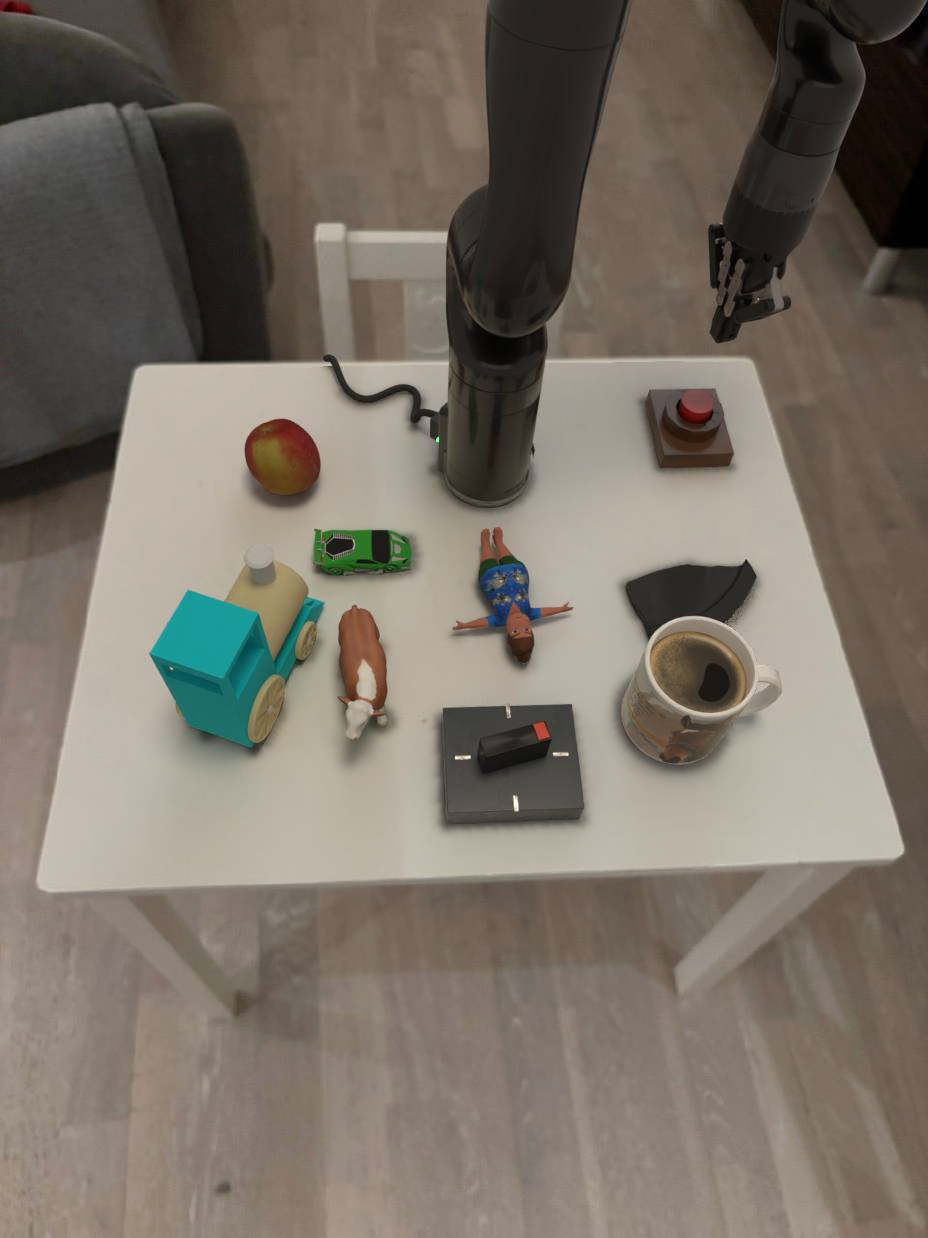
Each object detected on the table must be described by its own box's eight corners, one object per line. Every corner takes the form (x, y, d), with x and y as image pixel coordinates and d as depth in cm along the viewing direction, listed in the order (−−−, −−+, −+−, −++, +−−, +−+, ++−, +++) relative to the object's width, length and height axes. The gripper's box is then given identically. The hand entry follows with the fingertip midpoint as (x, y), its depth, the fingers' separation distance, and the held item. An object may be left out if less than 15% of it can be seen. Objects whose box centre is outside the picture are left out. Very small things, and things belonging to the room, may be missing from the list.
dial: (483, 774, 80) (486, 756, 76) (476, 756, 81) (479, 737, 77) (546, 756, 81) (552, 737, 77) (539, 738, 82) (545, 719, 78)
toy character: (551, 509, 93) (592, 633, 86) (546, 536, 97) (585, 657, 90) (432, 527, 91) (464, 655, 84) (431, 554, 95) (462, 678, 88)
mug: (655, 649, 90) (682, 590, 81) (763, 714, 87) (805, 661, 78) (601, 727, 86) (624, 675, 76) (713, 799, 83) (752, 753, 73)
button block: (728, 466, 103) (739, 442, 99) (659, 468, 102) (668, 444, 99) (710, 401, 108) (720, 376, 104) (644, 402, 107) (652, 377, 104)
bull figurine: (343, 764, 83) (336, 729, 76) (341, 637, 90) (334, 593, 83) (391, 761, 83) (388, 726, 76) (386, 634, 90) (382, 591, 83)
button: (712, 423, 101) (717, 412, 100) (681, 424, 101) (685, 413, 100) (706, 399, 103) (710, 388, 102) (675, 400, 103) (679, 389, 101)
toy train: (332, 609, 91) (318, 520, 78) (261, 754, 83) (231, 682, 70) (261, 586, 92) (235, 494, 79) (183, 727, 84) (140, 650, 71)
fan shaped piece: (774, 618, 93) (779, 610, 91) (654, 652, 90) (658, 644, 89) (737, 553, 97) (741, 545, 95) (621, 584, 94) (624, 576, 93)
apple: (311, 446, 102) (303, 395, 95) (331, 500, 98) (324, 451, 91) (244, 462, 100) (231, 412, 93) (262, 518, 97) (250, 470, 90)
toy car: (410, 536, 96) (410, 523, 94) (412, 573, 94) (412, 561, 92) (316, 539, 95) (313, 526, 94) (315, 576, 93) (313, 564, 91)
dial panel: (446, 825, 80) (447, 813, 78) (441, 719, 86) (442, 705, 83) (579, 820, 81) (585, 808, 78) (567, 716, 86) (572, 701, 84)
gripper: (856, 222, 76) (783, 375, 91) (782, 132, 82) (724, 289, 97) (777, 237, 74) (716, 389, 89) (708, 143, 80) (661, 301, 95)
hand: (720, 337), depth 93 cm, fingers closed
